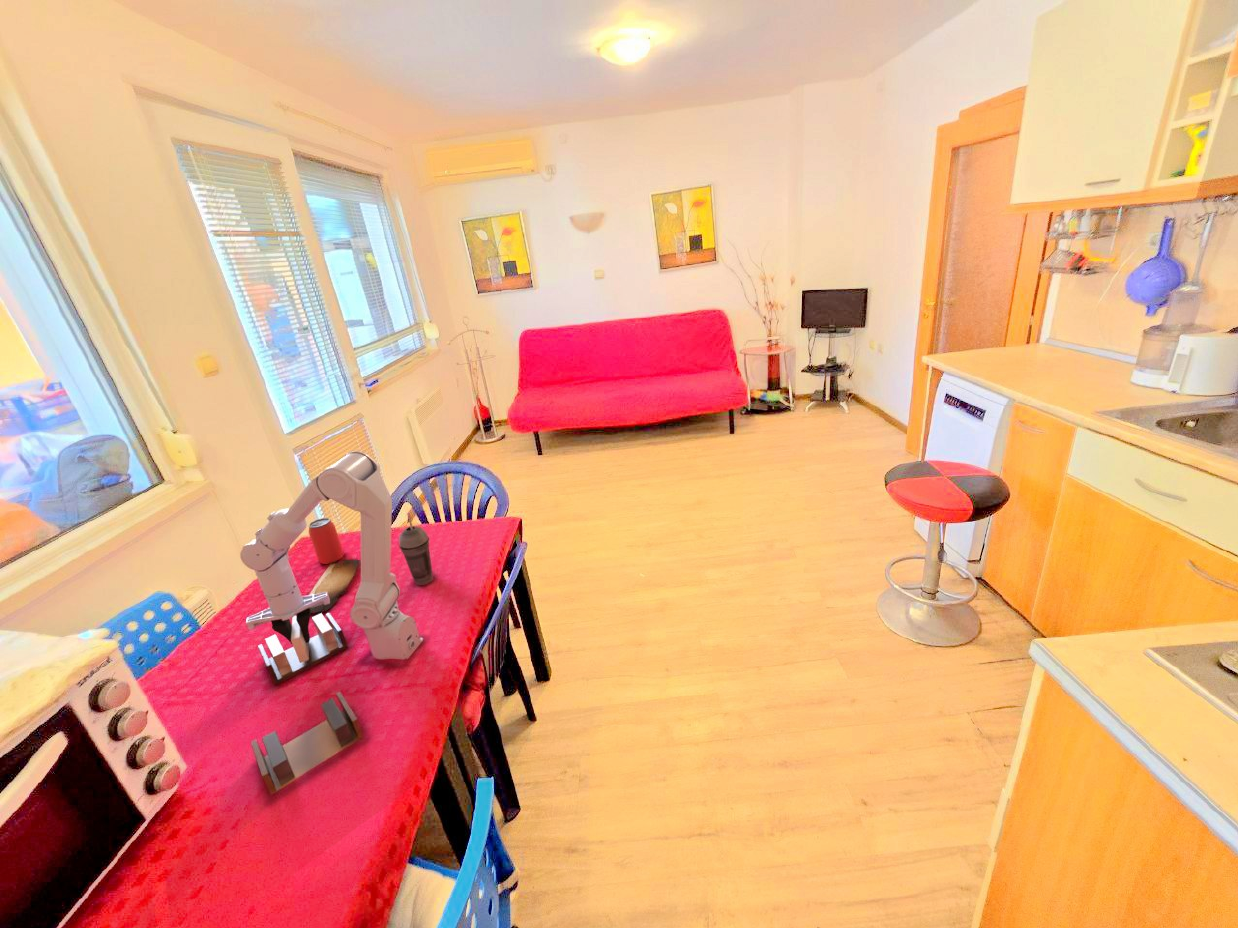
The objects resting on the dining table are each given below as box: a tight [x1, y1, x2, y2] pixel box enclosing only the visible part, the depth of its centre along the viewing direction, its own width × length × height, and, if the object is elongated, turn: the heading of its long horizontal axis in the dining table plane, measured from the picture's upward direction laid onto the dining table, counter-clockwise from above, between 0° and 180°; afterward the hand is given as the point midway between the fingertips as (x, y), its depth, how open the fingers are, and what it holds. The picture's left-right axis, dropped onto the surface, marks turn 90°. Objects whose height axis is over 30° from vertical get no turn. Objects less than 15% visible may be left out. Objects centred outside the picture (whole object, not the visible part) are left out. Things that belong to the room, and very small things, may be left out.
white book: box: [290, 614, 309, 663], centre depth 107 cm, size 2×9×6 cm, turn 30°
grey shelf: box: [250, 691, 364, 796], centre depth 85 cm, size 14×9×5 cm, turn 135°
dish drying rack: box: [257, 612, 349, 686], centre depth 107 cm, size 14×9×6 cm, turn 134°
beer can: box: [308, 517, 344, 565], centre depth 145 cm, size 7×7×12 cm
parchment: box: [308, 558, 361, 615], centre depth 133 cm, size 25×10×1 cm, turn 8°
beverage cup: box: [398, 512, 434, 586], centre depth 129 cm, size 7×7×20 cm
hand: (301, 641), depth 107 cm, fingers closed on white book, 2 cm apart
